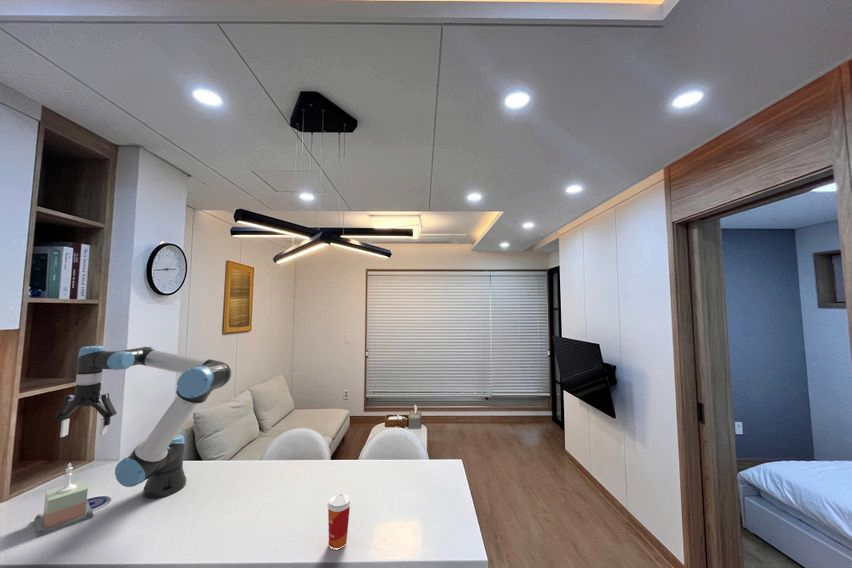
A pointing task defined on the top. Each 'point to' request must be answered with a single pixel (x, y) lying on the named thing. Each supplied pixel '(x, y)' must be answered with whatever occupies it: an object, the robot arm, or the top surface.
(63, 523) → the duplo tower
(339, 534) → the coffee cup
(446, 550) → the top surface
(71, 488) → the chess piece
